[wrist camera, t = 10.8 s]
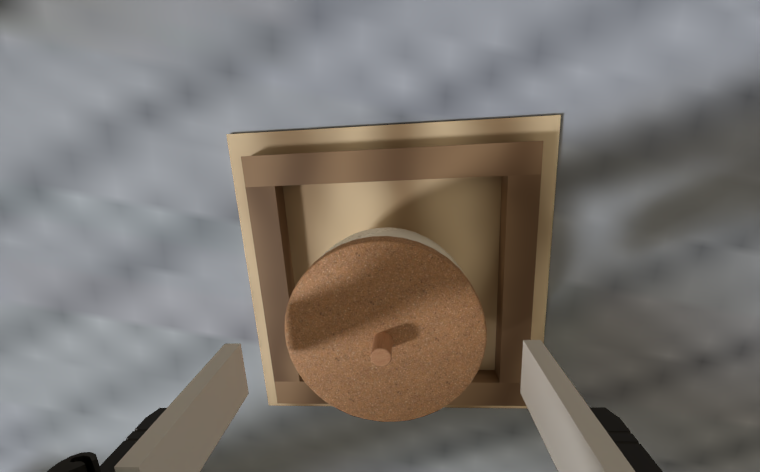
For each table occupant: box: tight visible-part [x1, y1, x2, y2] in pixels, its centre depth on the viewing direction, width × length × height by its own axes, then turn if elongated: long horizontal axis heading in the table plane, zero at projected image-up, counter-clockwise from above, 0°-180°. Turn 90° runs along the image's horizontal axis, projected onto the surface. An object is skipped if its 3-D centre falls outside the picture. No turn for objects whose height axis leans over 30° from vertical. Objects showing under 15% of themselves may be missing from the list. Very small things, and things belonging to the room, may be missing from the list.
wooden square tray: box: [226, 115, 561, 408], centre depth 25 cm, size 22×22×2 cm
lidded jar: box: [285, 227, 487, 422], centre depth 21 cm, size 11×11×9 cm
